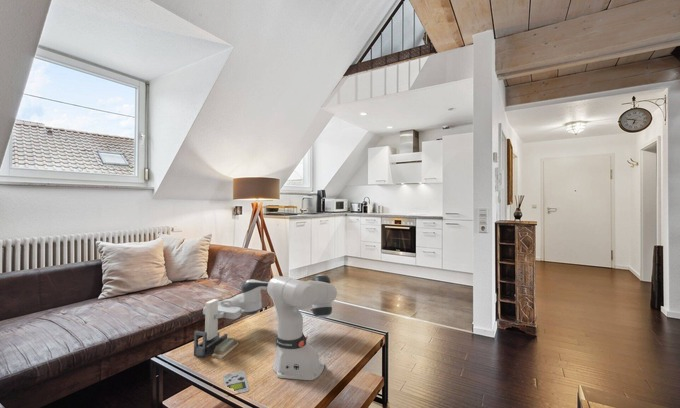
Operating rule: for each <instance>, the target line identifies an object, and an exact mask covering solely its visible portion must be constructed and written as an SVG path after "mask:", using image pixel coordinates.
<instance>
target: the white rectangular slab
mask: <svg viewBox="0 0 680 408" xmlns="http://www.w3.org/2000/svg"><path fill="white" fill-rule="evenodd" d="M218 300H219V299H217V298H216V299H215V298H213V299H211V300H208V301H207V302H205V304H204V305H205V306H204V307H205V314H204V317H205V318H204V320H205V321H204V332H207V340H211V339H212V338H214V337H215V336H217V335H218V333H219V331H218V330H219V329H218V328H219V327H218V326H219V318H218V319H214V315H216V314H218Z"/></svg>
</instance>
